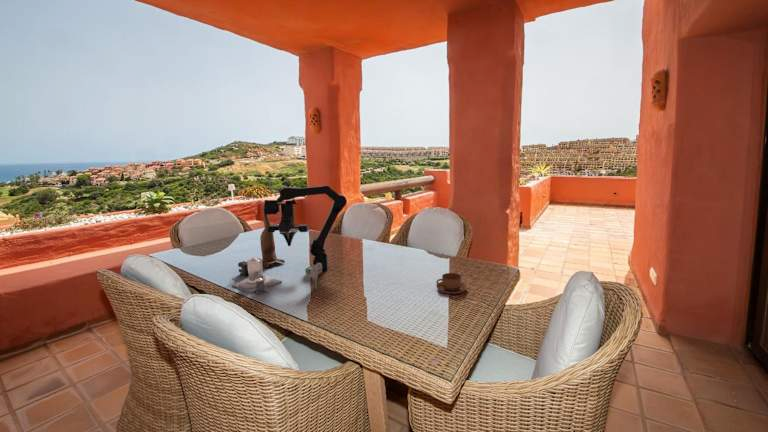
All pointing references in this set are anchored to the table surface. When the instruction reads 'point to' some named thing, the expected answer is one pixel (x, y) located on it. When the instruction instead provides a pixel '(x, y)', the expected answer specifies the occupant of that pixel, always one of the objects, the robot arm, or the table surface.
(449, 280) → the cup and saucer
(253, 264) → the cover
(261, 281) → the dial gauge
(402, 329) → the table surface
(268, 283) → the turntable
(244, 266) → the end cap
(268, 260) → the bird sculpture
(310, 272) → the mechanical component
